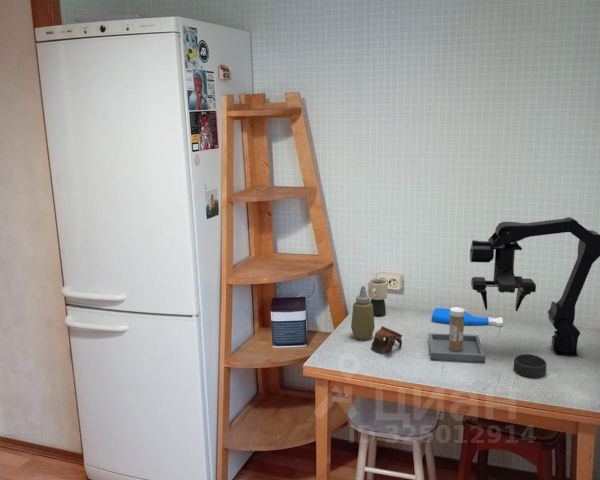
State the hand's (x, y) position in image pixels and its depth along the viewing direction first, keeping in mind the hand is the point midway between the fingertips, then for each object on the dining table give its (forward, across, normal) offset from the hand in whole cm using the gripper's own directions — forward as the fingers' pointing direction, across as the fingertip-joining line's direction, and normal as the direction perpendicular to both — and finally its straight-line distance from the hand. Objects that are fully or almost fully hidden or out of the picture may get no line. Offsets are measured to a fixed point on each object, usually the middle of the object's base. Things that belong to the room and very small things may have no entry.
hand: (501, 310), depth 186 cm
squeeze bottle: (+13, -44, +4) cm, 46 cm away
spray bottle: (+14, -7, +24) cm, 28 cm away
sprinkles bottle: (+12, -14, -4) cm, 19 cm away
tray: (+13, -14, -4) cm, 20 cm away
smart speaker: (+13, +6, -16) cm, 22 cm away
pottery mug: (+13, -36, -6) cm, 38 cm away
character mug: (+13, -40, +27) cm, 50 cm away
